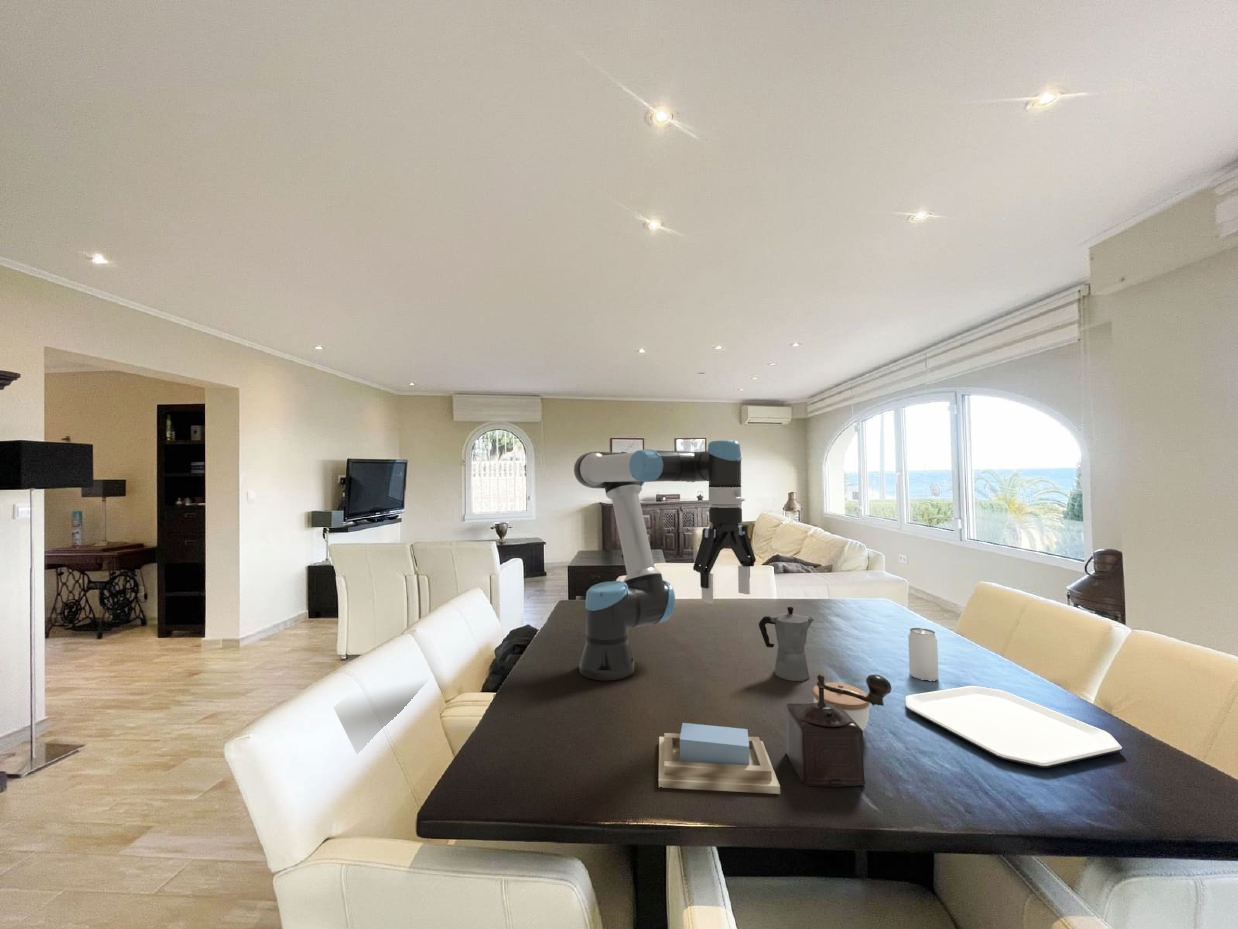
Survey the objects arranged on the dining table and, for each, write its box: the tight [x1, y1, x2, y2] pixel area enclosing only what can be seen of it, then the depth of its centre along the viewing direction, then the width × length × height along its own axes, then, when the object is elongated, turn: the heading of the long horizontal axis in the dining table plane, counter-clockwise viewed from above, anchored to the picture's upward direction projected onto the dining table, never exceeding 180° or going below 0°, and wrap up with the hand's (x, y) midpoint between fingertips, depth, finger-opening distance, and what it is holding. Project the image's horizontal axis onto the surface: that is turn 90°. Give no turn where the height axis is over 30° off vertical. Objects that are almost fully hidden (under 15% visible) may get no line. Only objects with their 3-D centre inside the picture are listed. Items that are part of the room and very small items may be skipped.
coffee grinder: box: [785, 673, 892, 788], centre depth 86 cm, size 16×11×18 cm
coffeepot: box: [758, 606, 815, 682], centre depth 128 cm, size 15×9×18 cm, turn 95°
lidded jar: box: [812, 682, 871, 731], centre depth 99 cm, size 11×11×9 cm
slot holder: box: [658, 732, 781, 795], centre depth 87 cm, size 20×14×3 cm
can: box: [907, 627, 939, 681], centre depth 126 cm, size 6×6×12 cm
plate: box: [904, 685, 1123, 769], centre depth 100 cm, size 29×29×2 cm
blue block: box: [679, 722, 750, 765], centre depth 87 cm, size 12×6×4 cm, turn 78°
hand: (726, 597), depth 111 cm, fingers open, 13 cm apart
